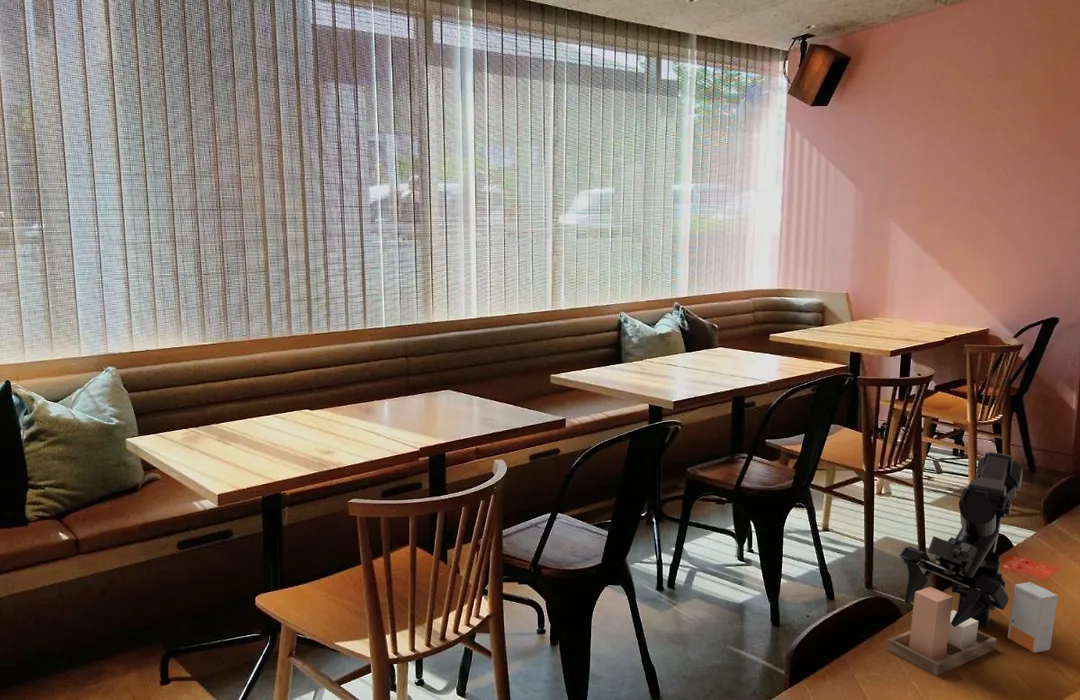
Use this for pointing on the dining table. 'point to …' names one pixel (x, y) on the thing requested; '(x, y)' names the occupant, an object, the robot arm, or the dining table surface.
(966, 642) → the cream block
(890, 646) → the walnut slot tray
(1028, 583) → the skincare box
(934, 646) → the terracotta peg
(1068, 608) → the dining table surface
